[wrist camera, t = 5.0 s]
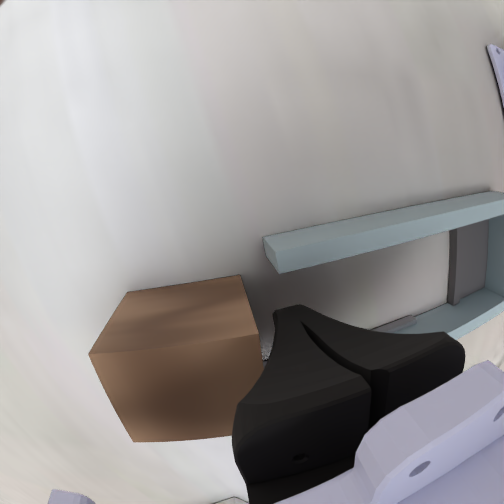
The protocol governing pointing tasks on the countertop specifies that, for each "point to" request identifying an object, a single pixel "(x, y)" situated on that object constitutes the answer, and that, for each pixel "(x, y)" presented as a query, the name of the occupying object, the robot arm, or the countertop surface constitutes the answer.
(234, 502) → the small box
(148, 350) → the block
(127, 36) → the countertop surface
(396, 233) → the u-shaped bracket
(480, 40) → the countertop surface
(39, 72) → the countertop surface
